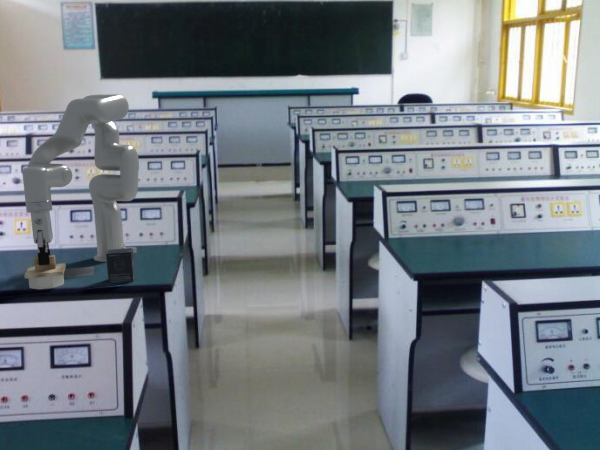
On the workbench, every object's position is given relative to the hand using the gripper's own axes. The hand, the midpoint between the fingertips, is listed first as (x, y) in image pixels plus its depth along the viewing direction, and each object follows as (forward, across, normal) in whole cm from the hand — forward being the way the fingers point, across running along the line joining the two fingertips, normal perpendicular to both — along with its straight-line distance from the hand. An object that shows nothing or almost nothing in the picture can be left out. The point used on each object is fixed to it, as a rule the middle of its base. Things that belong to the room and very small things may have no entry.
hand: (44, 262), depth 196 cm
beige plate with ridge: (+3, 0, 0) cm, 3 cm away
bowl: (+8, 0, 0) cm, 8 cm away
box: (+8, -4, -23) cm, 25 cm away
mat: (+8, +12, -8) cm, 16 cm away
